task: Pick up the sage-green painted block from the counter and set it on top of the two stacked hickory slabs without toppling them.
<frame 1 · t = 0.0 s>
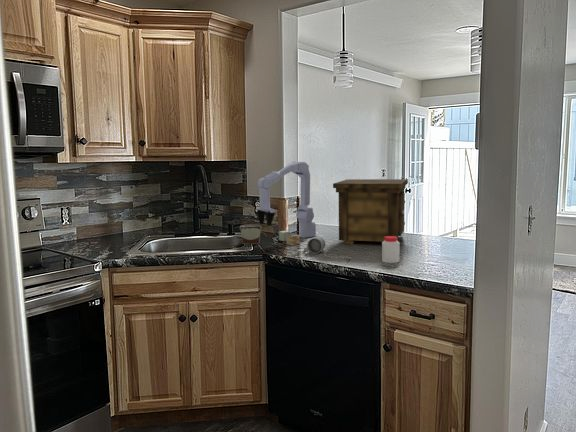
hand: (265, 224, 265), 10 cm above the counter, tool pointing down, fingers open, 7 cm apart
food container: (251, 243, 267), on the counter
sage block: (284, 240, 273), on the counter
ceramic mug: (314, 252, 239), on the counter
slab lower: (293, 244, 261), on the counter, touching slab upper
pill bottle: (390, 261, 217), on the counter
slab upper: (293, 240, 261), point 2 cm above the counter, touching slab lower
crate: (371, 240, 266), on the counter
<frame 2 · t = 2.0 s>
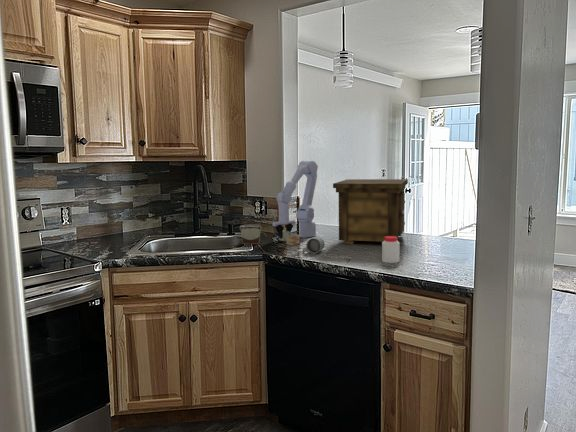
hand: (284, 237, 272), 1 cm above the counter, tool pointing down, fingers closed on sage block, 4 cm apart
sage block: (284, 240, 273), on the counter, touching gripper
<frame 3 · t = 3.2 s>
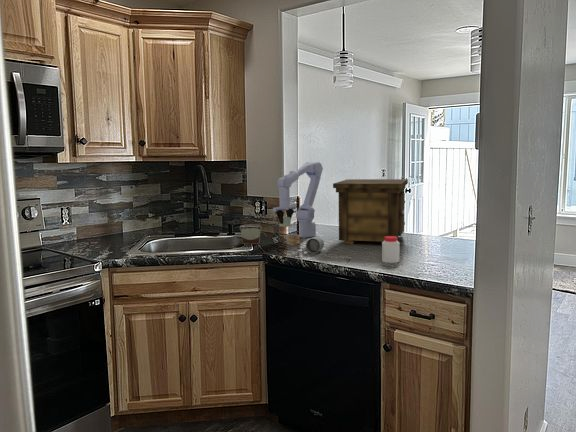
hand: (285, 223, 270), 10 cm above the counter, tool pointing down, fingers closed on sage block, 4 cm apart
sage block: (285, 226, 270), point 8 cm above the counter, touching gripper
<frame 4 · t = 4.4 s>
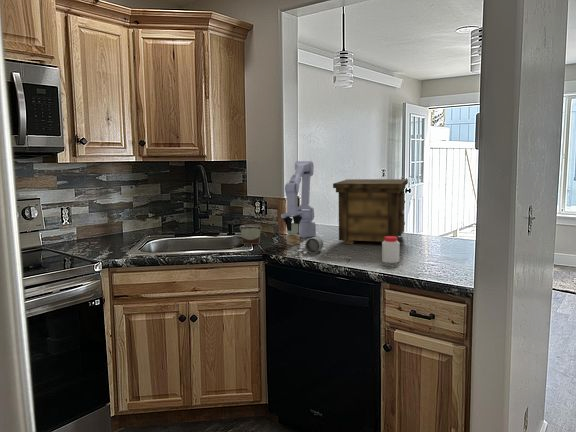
hand: (292, 230, 260), 8 cm above the counter, tool pointing down, fingers closed on sage block, 4 cm apart
sage block: (292, 233, 261), point 6 cm above the counter, touching gripper
when the fingers open (8 cm above the counter, at t = 4.8 s): sage block drops 1 cm, resting on slab upper.
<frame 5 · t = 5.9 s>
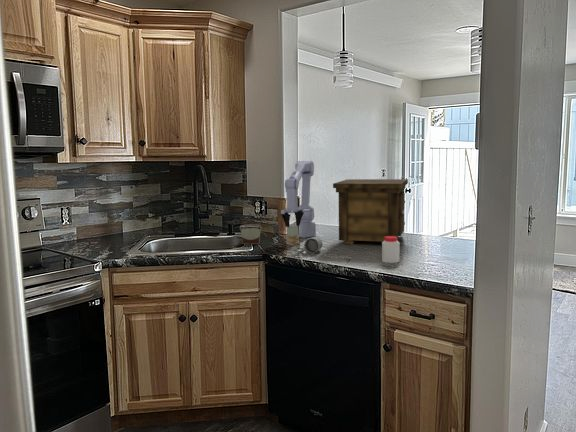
hand: (292, 225, 260), 10 cm above the counter, tool pointing down, fingers open, 7 cm apart
sage block: (292, 235, 261), point 5 cm above the counter, touching slab upper
slab upper: (292, 239, 261), point 2 cm above the counter, touching sage block, slab lower
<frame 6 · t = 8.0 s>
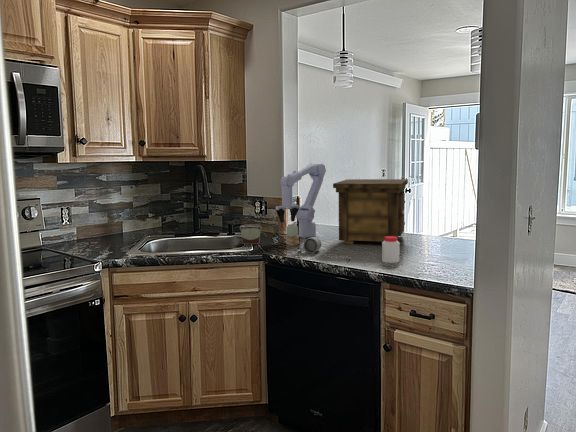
hand: (287, 221, 271), 10 cm above the counter, tool pointing down, fingers open, 7 cm apart
at the end: sage block 0.2 cm off-centre on the slab lower, point 5.0 cm above the slab lower's base; slab upper 0.2 cm off-centre on the slab lower, point 2.5 cm above the slab lower's base; sage block tilted 0° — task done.
